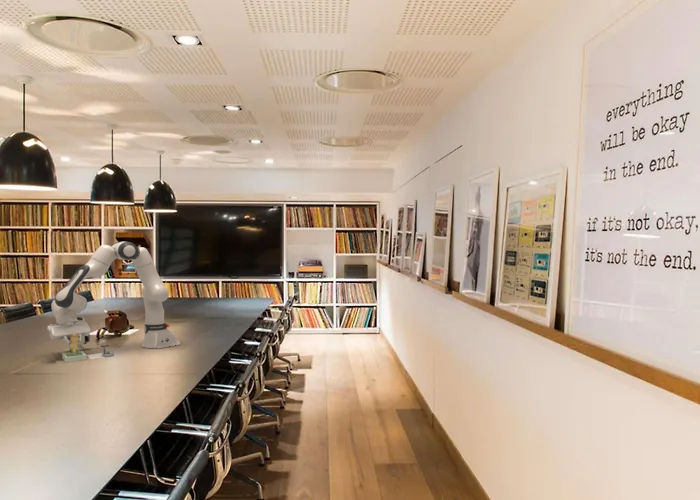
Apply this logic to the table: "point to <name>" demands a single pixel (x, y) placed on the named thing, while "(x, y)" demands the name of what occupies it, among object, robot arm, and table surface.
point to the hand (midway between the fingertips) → (74, 342)
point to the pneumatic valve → (82, 341)
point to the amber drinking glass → (74, 343)
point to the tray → (74, 356)
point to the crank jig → (101, 354)
